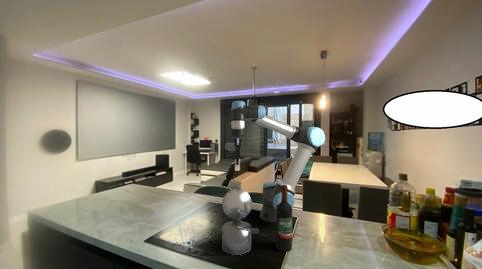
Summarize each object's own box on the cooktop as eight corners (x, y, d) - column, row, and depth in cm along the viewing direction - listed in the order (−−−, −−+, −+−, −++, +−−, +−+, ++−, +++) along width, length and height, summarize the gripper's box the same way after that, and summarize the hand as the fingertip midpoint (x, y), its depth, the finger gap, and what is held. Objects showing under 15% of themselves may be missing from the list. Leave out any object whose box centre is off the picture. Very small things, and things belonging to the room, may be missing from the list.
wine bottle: (289, 243, 106) (290, 183, 106) (293, 251, 98) (294, 187, 98) (274, 243, 105) (275, 183, 105) (277, 251, 98) (278, 187, 98)
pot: (216, 239, 108) (216, 220, 108) (257, 240, 109) (257, 220, 109) (212, 255, 94) (213, 233, 94) (260, 255, 95) (260, 233, 95)
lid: (221, 221, 109) (221, 220, 111) (251, 221, 109) (251, 220, 111) (222, 188, 112) (222, 188, 114) (251, 188, 113) (251, 188, 115)
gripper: (231, 128, 125) (230, 168, 125) (231, 128, 112) (230, 172, 112) (244, 129, 125) (243, 168, 125) (245, 128, 112) (244, 172, 112)
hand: (237, 170), depth 118 cm, fingers closed
